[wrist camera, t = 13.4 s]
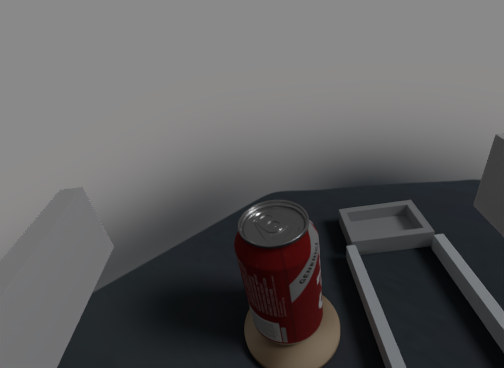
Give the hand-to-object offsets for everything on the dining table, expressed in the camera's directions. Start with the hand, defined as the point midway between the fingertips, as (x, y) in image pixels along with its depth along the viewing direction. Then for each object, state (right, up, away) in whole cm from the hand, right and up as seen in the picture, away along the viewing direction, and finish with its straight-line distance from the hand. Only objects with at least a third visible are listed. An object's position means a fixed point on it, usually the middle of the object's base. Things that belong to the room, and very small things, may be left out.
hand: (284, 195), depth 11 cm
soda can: (+2, -13, +20) cm, 24 cm away
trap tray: (+15, -6, +28) cm, 32 cm away
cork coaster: (+3, -13, +20) cm, 24 cm away
